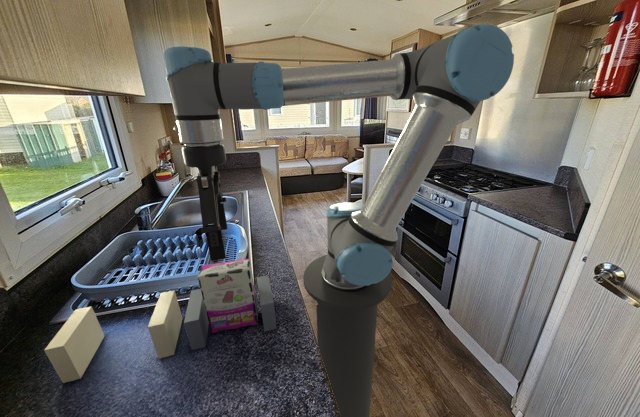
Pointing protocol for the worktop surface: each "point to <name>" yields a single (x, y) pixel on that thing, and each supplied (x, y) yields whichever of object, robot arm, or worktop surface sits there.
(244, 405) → the worktop surface
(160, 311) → the cream book
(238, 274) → the candy bar box
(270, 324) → the grey book
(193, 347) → the grey book
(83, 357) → the cream book
